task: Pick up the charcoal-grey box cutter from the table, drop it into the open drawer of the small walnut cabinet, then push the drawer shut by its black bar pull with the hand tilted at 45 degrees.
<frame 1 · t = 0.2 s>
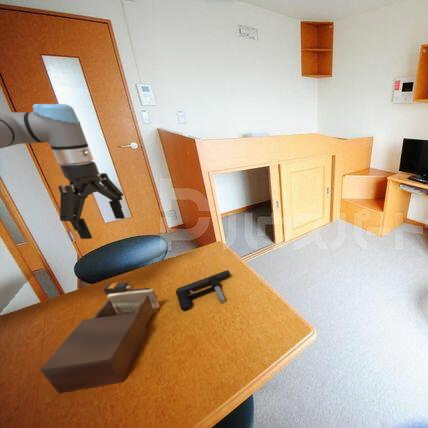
hand: (104, 227, 77), 30 cm above the table, tool pointing down, fingers open, 13 cm apart
door handle: (208, 294, 92), on the table
cabinet: (108, 360, 68), on the table
drawer: (128, 310, 78), point 5 cm above the table, slide at 10.0 cm
box cutter: (117, 290, 93), on the table
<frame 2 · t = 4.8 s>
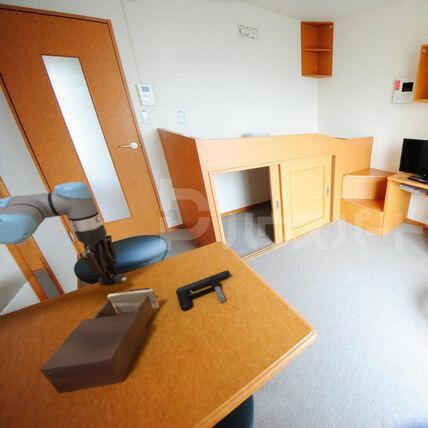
hand: (112, 281, 91), 5 cm above the table, tool pointing down, fingers closed on box cutter, 3 cm apart
box cutter: (113, 282, 91), point 4 cm above the table, touching gripper
everything else where it was.
when the fingers open (8 cm above the table, at t = 9.7 s): box cutter drops 6 cm, resting on drawer.
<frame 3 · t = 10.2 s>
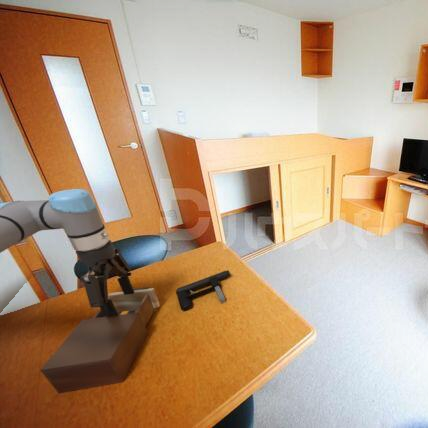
hand: (121, 304, 75), 9 cm above the table, tool pointing down, fingers open, 9 cm apart
drawer: (128, 309, 79), point 5 cm above the table, slide at 10.4 cm, touching box cutter, gripper
box cutter: (129, 319, 78), point 2 cm above the table, touching drawer
everything else where it was.
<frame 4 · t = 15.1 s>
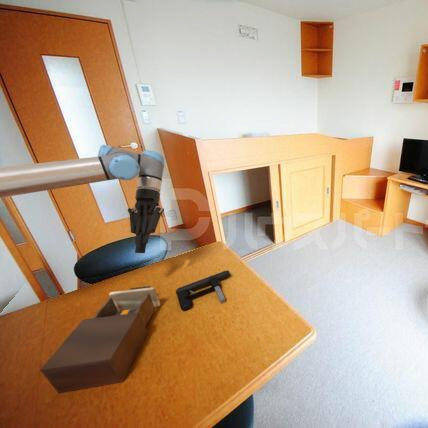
hand: (140, 252, 86), 18 cm above the table, tool tilted 40°, fingers closed
drawer: (129, 308, 79), point 5 cm above the table, slide at 10.9 cm, touching box cutter
everything else where it was.
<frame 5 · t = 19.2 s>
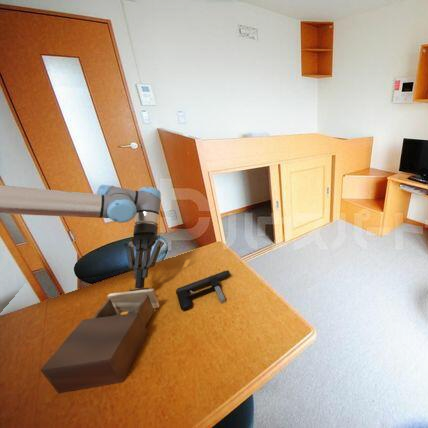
hand: (139, 287, 85), 7 cm above the table, tool tilted 45°, fingers closed
drawer: (128, 310, 78), point 5 cm above the table, slide at 10.1 cm, touching box cutter, gripper
everything else where it was.
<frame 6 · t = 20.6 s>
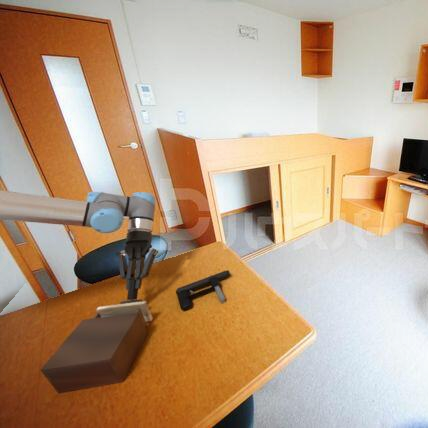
hand: (132, 299, 80), 6 cm above the table, tool tilted 45°, fingers closed
drawer: (118, 324, 73), point 5 cm above the table, slide at 4.4 cm, touching box cutter, gripper
box cutter: (118, 335, 73), point 2 cm above the table, touching drawer
everything else where it was.
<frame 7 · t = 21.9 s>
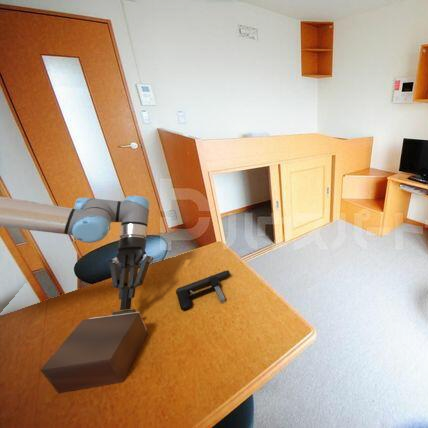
hand: (125, 309, 77), 6 cm above the table, tool tilted 45°, fingers closed
drawer: (110, 337, 69), point 5 cm above the table, slide at 0.0 cm, touching box cutter, cabinet, gripper
box cutter: (110, 349, 69), point 2 cm above the table, touching drawer
everything else where it was.
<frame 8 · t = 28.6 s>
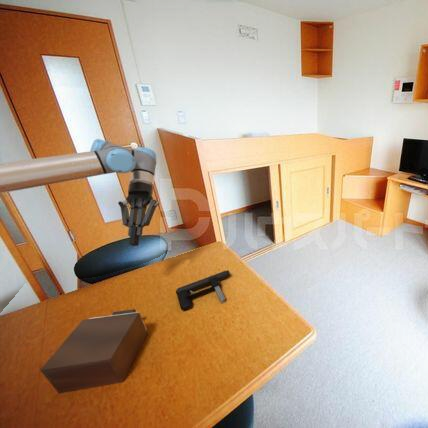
hand: (133, 244, 84), 21 cm above the table, tool tilted 45°, fingers closed
drawer: (110, 337, 69), point 5 cm above the table, slide at 0.0 cm, touching box cutter, cabinet
everything else where it was.
at the end: box cutter inside the target area in the cabinet (2.0 cm from its centre), point 2.0 cm above the cabinet's base; drawer slide at 0.0 cm; the gripper is holding nothing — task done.
